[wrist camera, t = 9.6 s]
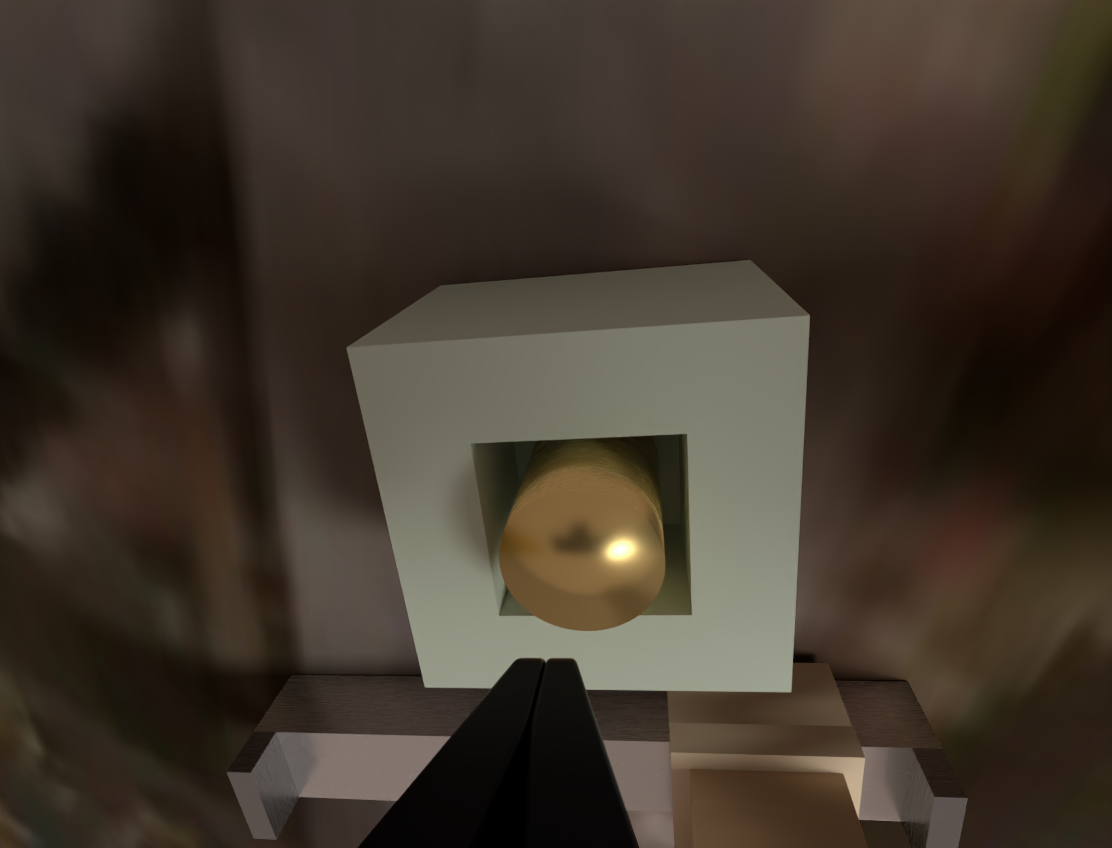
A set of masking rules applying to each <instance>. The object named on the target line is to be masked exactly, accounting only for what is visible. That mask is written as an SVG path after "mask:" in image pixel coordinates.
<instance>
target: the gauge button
mask: <svg viewBox="0 0 1112 848" xmlns="http://www.w3.org/2000/svg"><path fill="white" fill-rule="evenodd" d="M499 566H500V571H501V575H502V577H503V580H504V582H505V584H506V586H507V588H508V590H509V592H510V593H511V594H512V596H513V597H514V598H515V600H516V601H517V602H518V603H519V604H520V605H521V606H522V607H523V608H525V609H526V610H527V611H528V612H530V613H531V614H533V615H534V616H536V617H537V618H539V619H541V620H543V621H545V622H547V623H549V624H552V625H554V626H557V627H561V628H565V629H570V630H576V631H599V630H605V629H610V628H613V627H617V626H620V625H622V624H625V623H627V622H629V621H631V620H632V619H634V618H636V617H637V616H639V615H640V614H641V613H643V612H644V611H645V610H646V609H647V608H648V607H649V606H650V605H651V603H652V602H653V601H654V599H655V598H656V596H657V595H658V593H659V591H660V589H661V586H662V583H663V580H664V575H665V551H664V536H663V521H662V506H661V491H660V476H659V462H658V452H657V448H656V445H655V442H654V440H653V438H652V436H629V437H607V438H584V439H562V440H540V441H536V443H535V445H534V448H533V451H532V454H531V457H530V460H529V462H528V465H527V468H526V471H525V474H524V476H523V479H522V482H521V485H520V488H519V490H518V493H517V496H516V499H515V502H514V504H513V507H512V510H511V513H510V516H509V518H508V521H507V524H506V527H505V530H504V533H503V535H502V538H501V542H500V546H499Z"/></svg>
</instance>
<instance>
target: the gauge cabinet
mask: <svg viewBox="0 0 1112 848" xmlns="http://www.w3.org/2000/svg"><path fill="white" fill-rule="evenodd" d="M809 326H810V315H809V314H808V313H807V312H806V311H805V310H804V309H803V308H802V307H801V306H799V305H798V304H797V303H796V302H795V301H794V300H793V299H792V298H791V297H790V296H789V295H788V294H787V293H785V292H784V291H783V290H782V289H781V288H780V287H779V286H778V285H777V284H776V283H775V282H774V281H773V280H772V279H770V278H769V277H768V276H767V275H766V274H765V273H764V272H763V271H762V270H761V269H760V268H759V267H758V266H756V265H755V264H754V263H753V262H752V261H751V260H743V261H731V262H719V263H707V264H695V265H682V266H670V267H658V268H646V269H634V270H622V271H610V272H598V273H586V274H574V275H561V276H549V277H537V278H525V279H513V280H501V281H489V282H477V283H465V284H453V285H440V286H439V287H437V288H436V289H434V290H433V291H431V292H430V293H428V294H427V295H425V296H424V297H422V298H421V299H419V300H418V301H416V302H415V303H413V304H412V305H410V306H409V307H407V308H406V309H404V310H403V311H401V312H400V313H398V314H396V315H395V316H393V317H392V318H390V319H389V320H387V321H386V322H384V323H383V324H381V325H380V326H378V327H377V328H375V329H374V330H372V331H371V332H369V333H368V334H366V335H365V336H363V337H362V338H360V339H359V340H357V341H356V342H354V343H353V344H351V345H350V346H348V347H346V348H347V352H348V357H349V361H350V365H351V370H352V374H353V378H354V383H355V387H356V391H357V396H358V400H359V404H360V409H361V413H362V417H363V422H364V426H365V430H366V435H367V439H368V443H369V448H370V452H371V456H372V461H373V465H374V469H375V474H376V478H377V482H378V487H379V491H380V495H381V500H382V504H383V508H384V513H385V517H386V521H387V526H388V530H389V534H390V539H391V543H392V547H393V552H394V556H395V560H396V565H397V569H398V573H399V578H400V582H401V586H402V591H403V595H404V599H405V604H406V608H407V612H408V617H409V621H410V625H411V630H412V634H413V638H414V643H415V647H416V651H417V656H418V660H419V664H420V669H421V673H422V677H423V682H424V686H425V687H427V688H492V687H493V686H494V684H495V683H496V682H497V681H498V680H499V678H500V677H501V676H502V675H503V674H504V673H505V671H506V670H507V669H508V668H509V667H510V665H511V664H512V663H513V662H514V661H515V660H516V659H518V658H542V659H544V660H545V661H547V660H548V659H550V658H573V659H575V660H576V662H577V664H578V667H579V670H580V673H581V676H582V679H583V682H584V685H585V688H586V690H652V691H727V692H791V689H792V669H793V649H794V629H795V609H796V589H797V568H798V548H799V528H800V508H801V488H802V468H803V447H804V427H805V407H806V387H807V367H808V347H809ZM629 436H652V438H653V440H654V442H655V445H656V448H657V452H658V462H659V476H660V491H661V506H662V521H663V536H664V551H665V575H664V580H663V583H662V586H661V589H660V591H659V593H658V595H657V596H656V598H655V599H654V601H653V602H652V603H651V605H650V606H649V607H648V608H647V609H646V610H645V611H644V612H643V613H641V614H640V615H639V616H637V617H636V618H634V619H632V620H631V621H629V622H627V623H625V624H622V625H620V626H617V627H613V628H610V629H605V630H599V631H576V630H570V629H565V628H561V627H557V626H554V625H552V624H549V623H547V622H545V621H543V620H541V619H539V618H537V617H536V616H534V615H533V614H531V613H530V612H528V611H527V610H526V609H525V608H523V607H522V606H521V605H520V604H519V603H518V602H517V601H516V600H515V598H514V597H513V596H512V594H511V593H510V592H509V590H508V588H507V586H506V584H505V582H504V580H503V577H502V575H501V571H500V566H499V546H500V542H501V538H502V535H503V533H504V530H505V527H506V524H507V521H508V518H509V516H510V513H511V510H512V507H513V504H514V502H515V499H516V496H517V493H518V490H519V488H520V485H521V482H522V479H523V476H524V474H525V471H526V468H527V465H528V462H529V460H530V457H531V454H532V451H533V448H534V445H535V443H536V441H540V440H562V439H584V438H607V437H629Z"/></svg>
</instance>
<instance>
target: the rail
mask: <svg viewBox="0 0 1112 848" xmlns="http://www.w3.org/2000/svg"><path fill="white" fill-rule="evenodd" d="M835 682H836V685H837V687H838V690H839V693H840V695H841V698H842V701H843V703H844V706H845V709H846V711H847V714H848V717H849V719H850V722H851V725H852V726H853V727H854V729H855V732H856V735H857V737H858V740H859V743H860V745H861V748H862V751H863V753H864V756H865V764H864V773H863V782H862V791H861V800H860V809H859V818H858V819H859V820H880V821H901V822H902V825H903V828H904V830H905V833H906V835H907V838H908V840H909V843H910V845H911V848H958V844H959V839H960V834H961V830H962V825H963V820H964V815H965V810H966V805H967V800H968V798H967V796H966V794H965V792H964V790H963V788H962V786H961V784H960V782H959V780H958V778H957V776H956V774H955V772H954V770H953V768H952V766H951V764H950V762H949V760H948V759H947V757H946V755H945V753H944V751H943V749H942V747H941V745H940V743H939V741H938V739H937V737H936V735H935V733H934V731H933V729H932V727H931V725H930V723H929V722H928V720H927V718H926V716H925V714H924V712H923V710H922V708H921V706H920V704H919V702H918V700H917V698H916V696H915V694H914V692H913V690H912V688H911V686H910V684H909V683H908V681H835ZM490 689H491V688H427V687H425V686H424V682H423V677H422V676H347V675H291V676H290V678H289V679H288V681H287V682H286V684H285V685H284V687H283V688H282V690H281V691H280V693H279V694H278V696H277V697H276V699H275V700H274V702H273V703H272V705H271V706H270V708H269V709H268V711H267V712H266V714H265V715H264V717H263V718H262V720H261V721H260V723H259V724H258V726H257V727H256V729H255V730H254V732H253V733H252V735H251V736H250V738H249V739H248V741H247V742H246V744H245V745H244V747H243V748H242V750H241V751H240V753H239V754H238V756H237V757H236V759H235V760H234V762H233V763H232V765H231V766H230V768H229V769H228V771H227V774H228V777H229V779H230V781H231V784H232V786H233V789H234V791H235V794H236V796H237V799H238V801H239V803H240V806H241V808H242V811H243V813H244V816H245V818H246V821H247V823H248V825H249V828H250V830H251V833H252V835H253V838H256V839H276V840H277V838H278V836H279V834H280V832H281V830H282V828H283V826H284V825H285V823H286V821H287V819H288V817H289V815H290V813H291V811H292V809H293V807H294V806H295V804H296V802H297V800H298V798H299V797H316V798H341V799H365V800H390V801H397V800H398V799H399V798H400V797H401V795H402V794H403V793H404V792H405V791H406V789H407V788H408V787H409V786H410V785H411V783H412V782H413V781H414V780H415V779H416V777H417V776H418V775H419V774H420V773H421V771H422V770H423V769H424V768H425V767H426V766H427V764H428V763H429V762H430V761H431V760H432V758H433V757H434V756H435V755H436V754H437V752H438V751H439V750H440V749H441V748H442V746H443V745H444V744H445V743H446V742H447V740H448V739H449V738H450V737H451V736H452V735H453V733H454V732H455V731H456V730H457V729H458V727H459V726H460V725H461V724H462V723H463V721H464V720H465V719H466V718H467V717H468V715H469V714H470V713H471V712H472V711H473V709H474V708H475V707H476V706H477V705H478V704H479V702H480V701H481V700H482V699H483V698H484V696H485V695H486V694H487V693H488V692H489V690H490ZM586 691H587V694H588V697H589V700H590V703H591V706H592V709H593V712H594V715H595V718H596V721H597V724H598V727H599V730H600V733H601V736H602V739H603V742H604V745H605V748H606V751H607V754H608V757H609V760H610V763H611V766H612V769H613V772H614V775H615V777H616V780H617V783H618V786H619V789H620V792H621V795H622V798H623V801H624V804H625V807H626V810H635V811H660V812H673V799H672V777H671V754H670V734H669V716H668V698H667V691H652V690H586Z"/></svg>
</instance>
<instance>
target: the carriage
mask: <svg viewBox="0 0 1112 848" xmlns="http://www.w3.org/2000/svg"><path fill="white" fill-rule="evenodd" d="M667 698H668V716H669V734H670V754H671V777H672V799H673V824H674V843H675V848H868V846H867V843H866V840H865V837H864V834H863V831H862V828H861V825H860V822H859V819H858V818H859V809H860V800H861V791H862V782H863V773H864V764H865V756H864V753H863V751H862V748H861V745H860V743H859V740H858V737H857V735H856V732H855V729H854V727H853V726H852V725H851V722H850V719H849V717H848V714H847V711H846V709H845V706H844V703H843V701H842V698H841V695H840V693H839V690H838V687H837V685H836V682H835V679H834V677H833V674H832V671H831V669H830V666H829V663H793V669H792V689H791V692H727V691H667Z"/></svg>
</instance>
